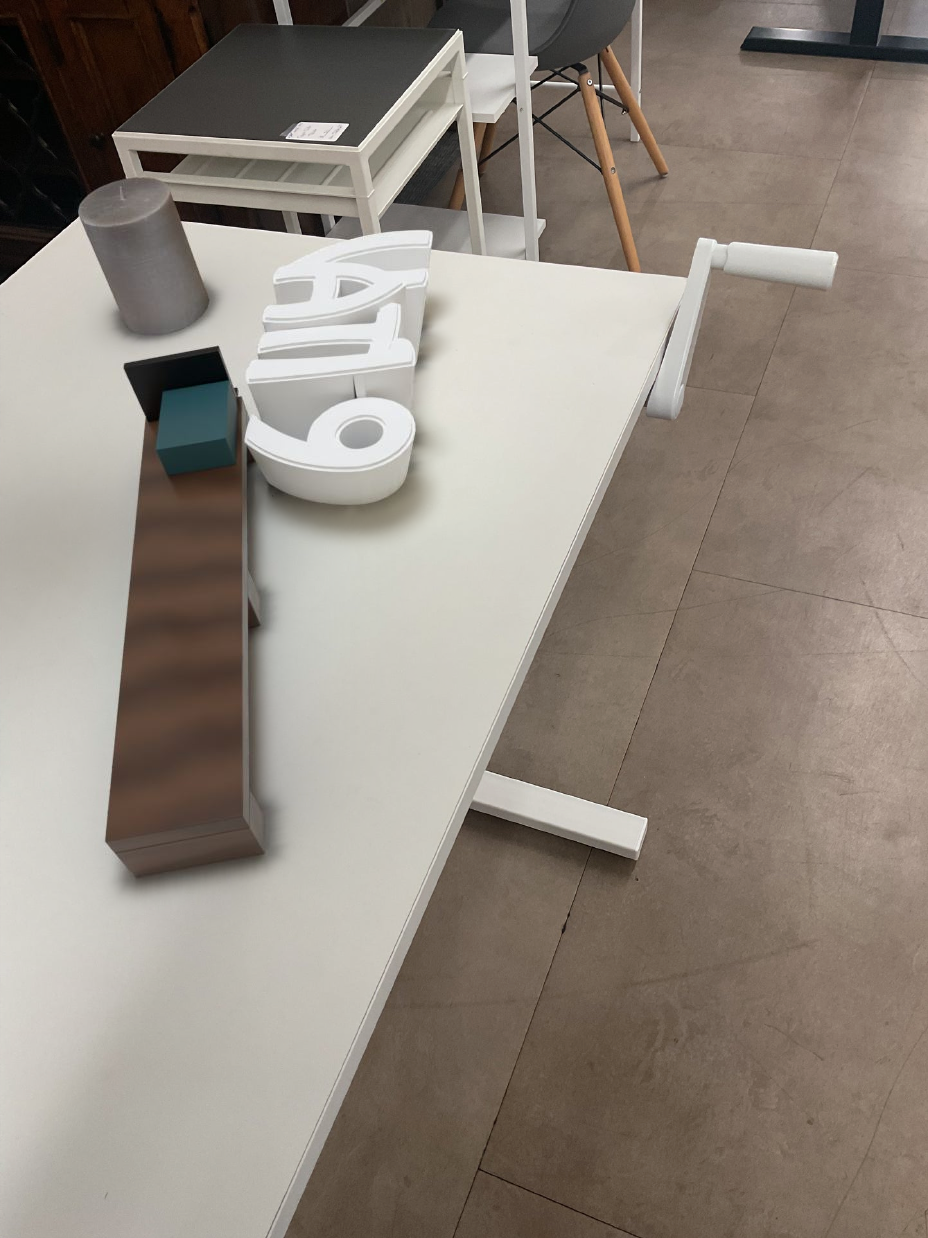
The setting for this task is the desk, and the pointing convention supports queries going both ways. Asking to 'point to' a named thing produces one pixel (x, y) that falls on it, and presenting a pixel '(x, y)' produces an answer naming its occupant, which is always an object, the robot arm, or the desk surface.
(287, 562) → the desk surface
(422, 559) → the desk surface
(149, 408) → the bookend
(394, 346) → the white numeral sign
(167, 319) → the pillar candle
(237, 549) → the shelf
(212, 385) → the teal rectangular block
